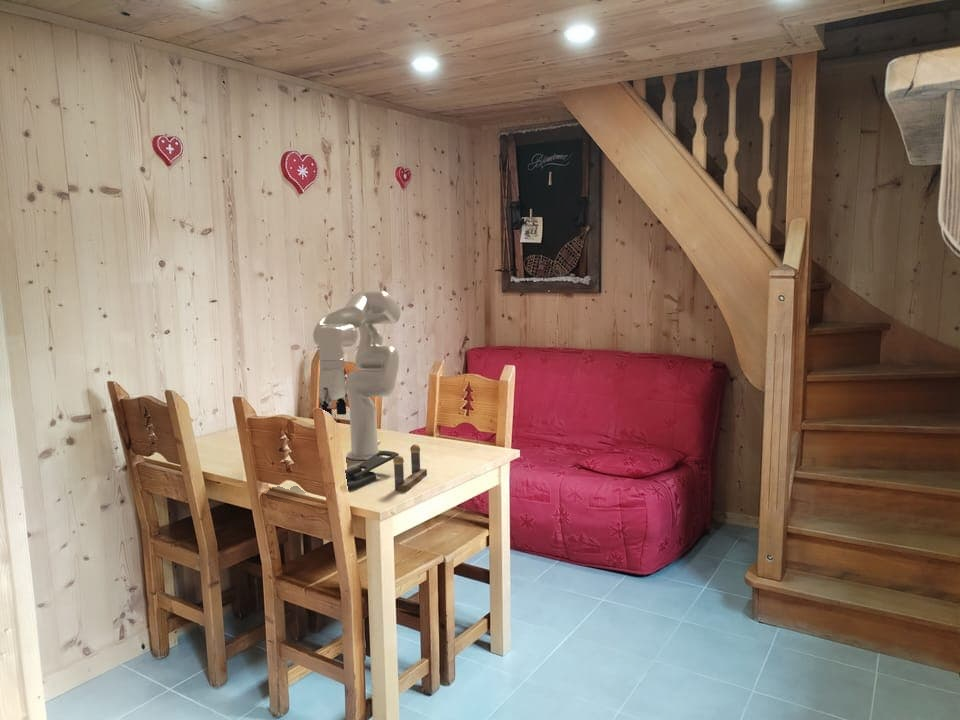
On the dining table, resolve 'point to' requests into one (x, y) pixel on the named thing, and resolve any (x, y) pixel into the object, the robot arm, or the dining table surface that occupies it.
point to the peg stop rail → (416, 474)
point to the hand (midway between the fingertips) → (334, 417)
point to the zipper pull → (366, 470)
